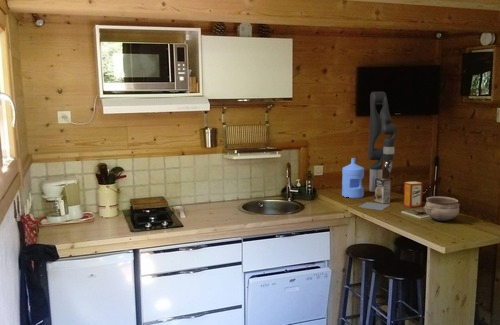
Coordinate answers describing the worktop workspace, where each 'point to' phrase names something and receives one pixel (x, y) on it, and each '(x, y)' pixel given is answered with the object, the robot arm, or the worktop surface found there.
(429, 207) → the cooking pot
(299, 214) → the worktop surface
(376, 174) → the robot arm
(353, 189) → the water jug
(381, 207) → the mat
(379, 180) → the coffee box
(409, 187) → the baking soda box
